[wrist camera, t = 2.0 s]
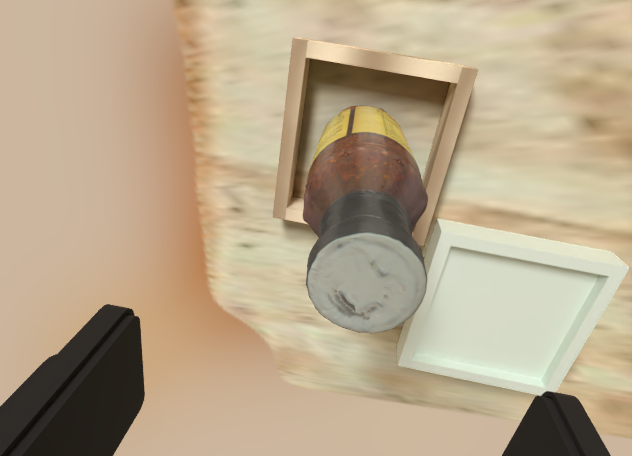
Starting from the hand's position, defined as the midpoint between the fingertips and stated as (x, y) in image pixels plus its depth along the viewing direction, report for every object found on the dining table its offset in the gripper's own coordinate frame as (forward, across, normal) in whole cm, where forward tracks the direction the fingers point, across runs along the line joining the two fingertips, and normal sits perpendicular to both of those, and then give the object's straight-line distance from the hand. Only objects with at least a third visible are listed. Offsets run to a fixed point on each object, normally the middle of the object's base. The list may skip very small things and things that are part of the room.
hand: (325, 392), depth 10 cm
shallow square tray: (+24, -15, +12) cm, 31 cm away
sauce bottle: (+24, -1, 0) cm, 24 cm away
